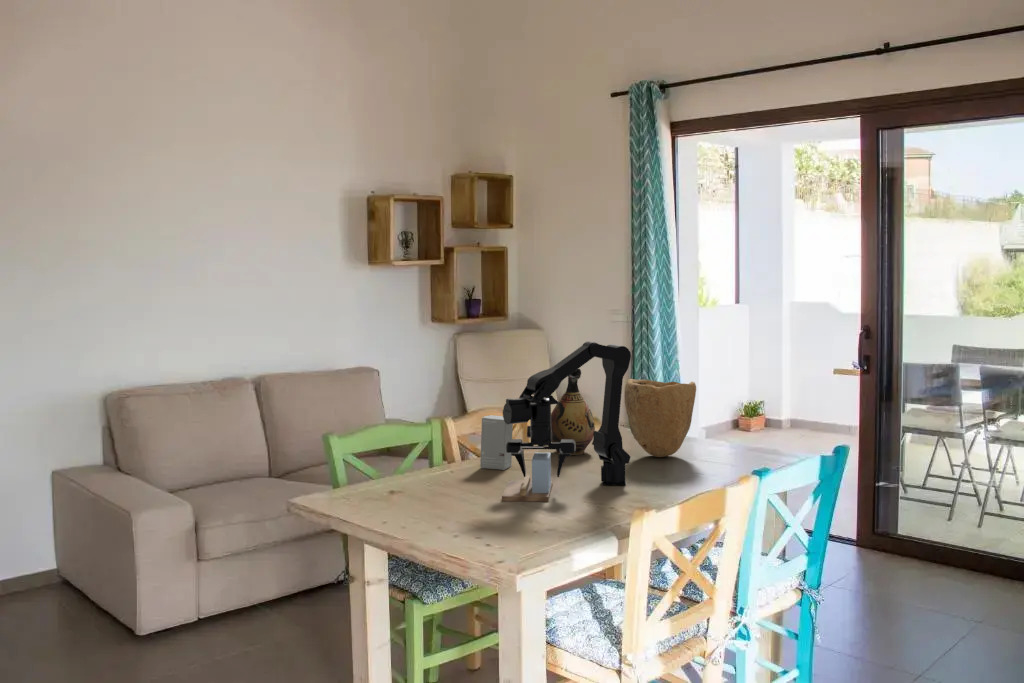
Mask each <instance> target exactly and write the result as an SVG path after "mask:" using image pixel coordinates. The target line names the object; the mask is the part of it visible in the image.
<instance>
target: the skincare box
mask: <svg viewBox="0 0 1024 683" xmlns="http://www.w3.org/2000/svg"><path fill="white" fill-rule="evenodd" d="M513 425H514V424H506V423H505V421H504V418H503V415H492V414H491V415H486V416H482V417H481V431H480V432H481V435H480V438H481V439H480V461H479V462H480V469H485V470H486V469H489V470H500V471H501V470H502V471H503V470H504V471H505V470H508V469H509V468H511V467H512V465H513V464H512V462H513V460H512V459H513V456H511V453H507V452H506V445H507V442H508V441H509V440H510V439H513V427H514V426H513Z"/></svg>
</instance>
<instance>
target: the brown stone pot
mask: <svg viewBox="0 0 1024 683" xmlns="http://www.w3.org/2000/svg"><path fill="white" fill-rule="evenodd" d="M696 394H697V385H696V382H695V381H690V382H689V383H683V382H681V383H680V382H678V381H668V382H663V381H657V380H652V379H633V378H628V379H627V381H626V382H625V386H624V407H625V411H626V412H625V413H626V415H627V420H628V427H629V429H630V432H631V434H632V436H633V438H634V440H635V441H636V442H637V443H638V445H639V446H640V447H641V448H642V449H643V451H644V452H646V453H648V455H651V456H652V457H655V458H664V457H668V456H672V455H674V454H675V453H677V452H678V451H679V450H680V449H681V446H682V444H683V443H684V440H685V439H686V437H687V434H688V432H690V428H691V424H692V420H693V418H692V417H693V413H694V412H693V411H694V407H695V406H694V405H695V402H696Z"/></svg>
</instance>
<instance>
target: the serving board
mask: <svg viewBox="0 0 1024 683" xmlns="http://www.w3.org/2000/svg"><path fill="white" fill-rule="evenodd" d="M553 484H554V483H553V480H551V486H550V490H549V493H532V480H531V475H529V474H526V477H524V476H523V479H522V480H508V482H507V484H506V486H505V488H504V491H503V494H502V495H501V502H550V496H551V493H552V490H553Z"/></svg>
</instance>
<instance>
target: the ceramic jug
mask: <svg viewBox="0 0 1024 683" xmlns="http://www.w3.org/2000/svg"><path fill="white" fill-rule="evenodd" d="M581 375H582V370H581V368H578V369H577V370H576V371H574V372H573V373H572V374H570V375H569V376H567V387H566V390H565V392H564V393H563V394H562V395H561V397H560V398H559V400H557V401H558V404H555V406H554V408H553V409H552V410H551V431H552V441H551V443H560V442H561V439H573V440H574V441H575V453H570V456H569V457H571V456H579V455H583V454H584V452H585V451H586V449H587V448H588V446H589V445H590V444H591V443H592V442H593V432H594V431H596V429H595V428H596V426H595V419H594V416H593V413H592V410H591V408H590V407H589V405H588V403H587V401H586V400H585V398H584V397H583V396H582V394H581V392H580V390H579V384H578V381H579V379H581V377H582V376H581ZM555 452H556V454H557V455H559V454H560V449H555Z"/></svg>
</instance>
